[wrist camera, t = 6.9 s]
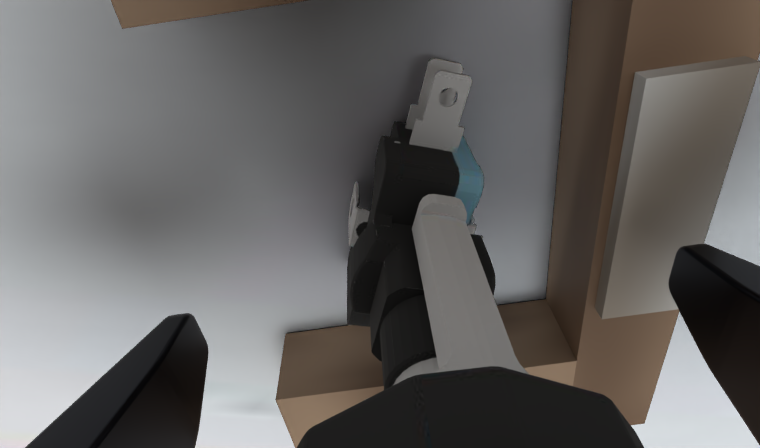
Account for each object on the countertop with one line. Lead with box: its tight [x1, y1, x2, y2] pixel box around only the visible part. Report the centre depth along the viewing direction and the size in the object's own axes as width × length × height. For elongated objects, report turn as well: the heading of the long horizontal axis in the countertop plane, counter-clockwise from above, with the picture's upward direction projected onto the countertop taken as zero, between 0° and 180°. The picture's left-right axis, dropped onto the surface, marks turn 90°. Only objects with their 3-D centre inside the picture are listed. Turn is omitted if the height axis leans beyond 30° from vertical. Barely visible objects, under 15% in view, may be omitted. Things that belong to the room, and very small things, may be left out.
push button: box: [297, 58, 644, 448], centre depth 8 cm, size 7×5×10 cm
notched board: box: [111, 0, 760, 448], centre depth 11 cm, size 11×17×3 cm, turn 7°
